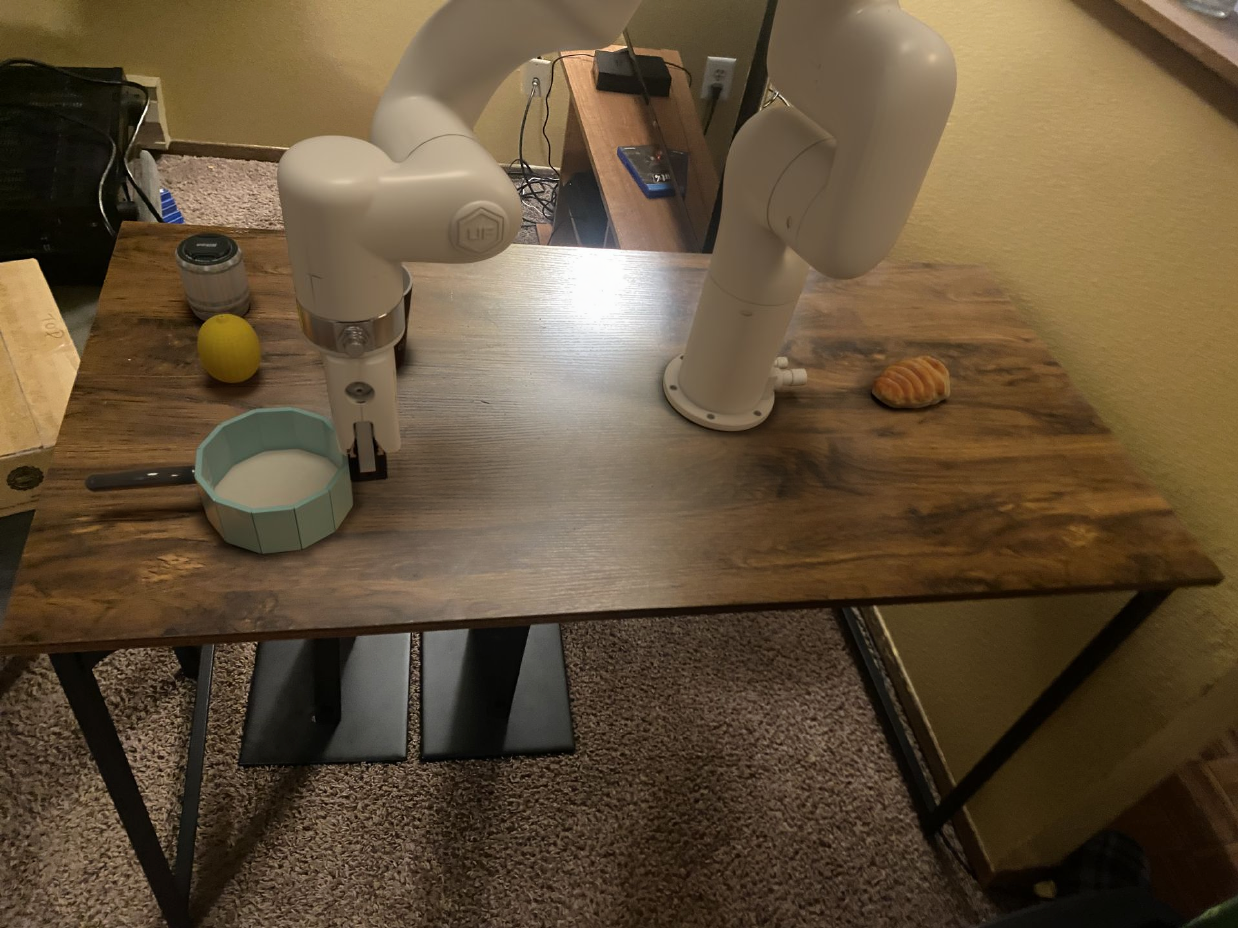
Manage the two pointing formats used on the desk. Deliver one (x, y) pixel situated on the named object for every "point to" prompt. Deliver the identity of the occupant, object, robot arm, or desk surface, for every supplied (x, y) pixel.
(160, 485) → the pan
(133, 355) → the desk surface
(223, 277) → the camera lens
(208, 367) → the lemon
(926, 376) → the pastry
